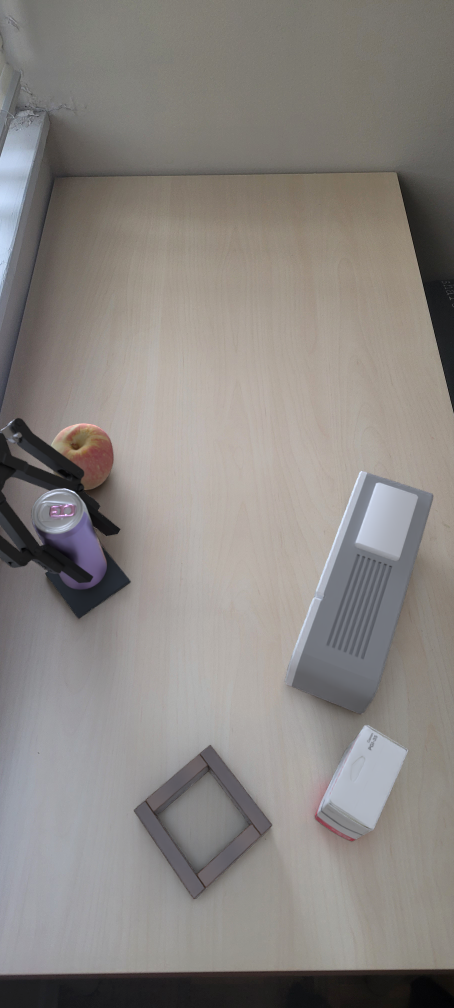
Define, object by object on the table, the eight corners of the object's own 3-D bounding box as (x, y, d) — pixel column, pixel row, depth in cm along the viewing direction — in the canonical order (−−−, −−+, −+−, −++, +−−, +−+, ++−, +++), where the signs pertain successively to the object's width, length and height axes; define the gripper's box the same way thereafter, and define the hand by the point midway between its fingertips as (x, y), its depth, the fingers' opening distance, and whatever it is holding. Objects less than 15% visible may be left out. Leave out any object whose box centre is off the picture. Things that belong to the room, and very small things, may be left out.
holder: (195, 899, 65) (193, 899, 62) (137, 813, 69) (133, 810, 66) (270, 828, 68) (272, 825, 65) (211, 750, 72) (210, 744, 69)
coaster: (78, 619, 81) (77, 617, 80) (45, 574, 84) (44, 572, 83) (130, 582, 83) (130, 580, 83) (97, 540, 87) (96, 538, 86)
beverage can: (106, 590, 80) (83, 533, 67) (58, 593, 80) (26, 535, 67) (108, 548, 83) (86, 485, 70) (62, 550, 83) (32, 488, 70)
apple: (114, 444, 95) (105, 409, 88) (121, 493, 90) (112, 461, 84) (55, 454, 94) (41, 420, 87) (59, 505, 89) (45, 472, 83)
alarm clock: (348, 508, 89) (364, 459, 79) (414, 531, 87) (438, 483, 77) (282, 691, 76) (289, 659, 66) (357, 721, 74) (377, 694, 64)
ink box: (352, 844, 67) (373, 835, 57) (310, 817, 69) (324, 804, 59) (386, 769, 71) (411, 749, 61) (346, 745, 73) (365, 721, 62)
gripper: (-30, 372, 72) (120, 497, 82) (-142, 506, 63) (44, 626, 73) (-5, 351, 66) (153, 488, 77) (-124, 494, 57) (74, 627, 68)
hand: (99, 555), depth 75 cm, fingers closed on beverage can, 6 cm apart
